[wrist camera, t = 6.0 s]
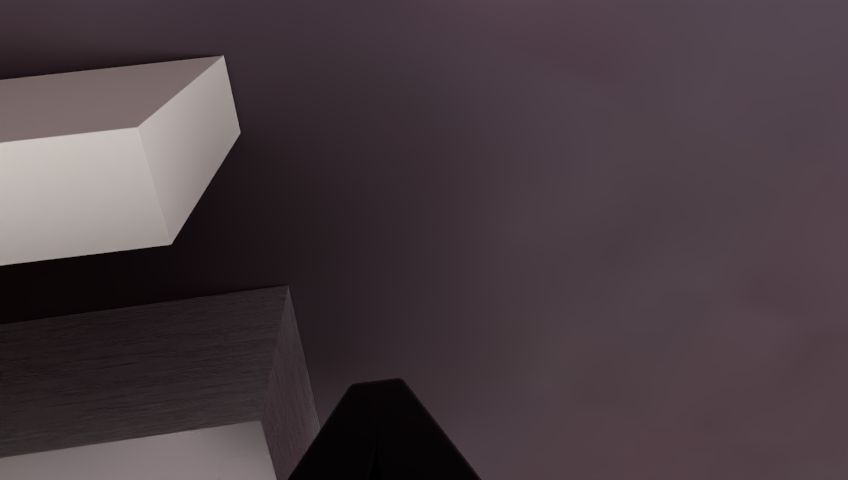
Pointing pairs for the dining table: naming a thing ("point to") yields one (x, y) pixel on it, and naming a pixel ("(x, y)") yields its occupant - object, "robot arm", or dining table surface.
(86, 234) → the channel
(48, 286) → the dining table surface
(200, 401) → the bar
